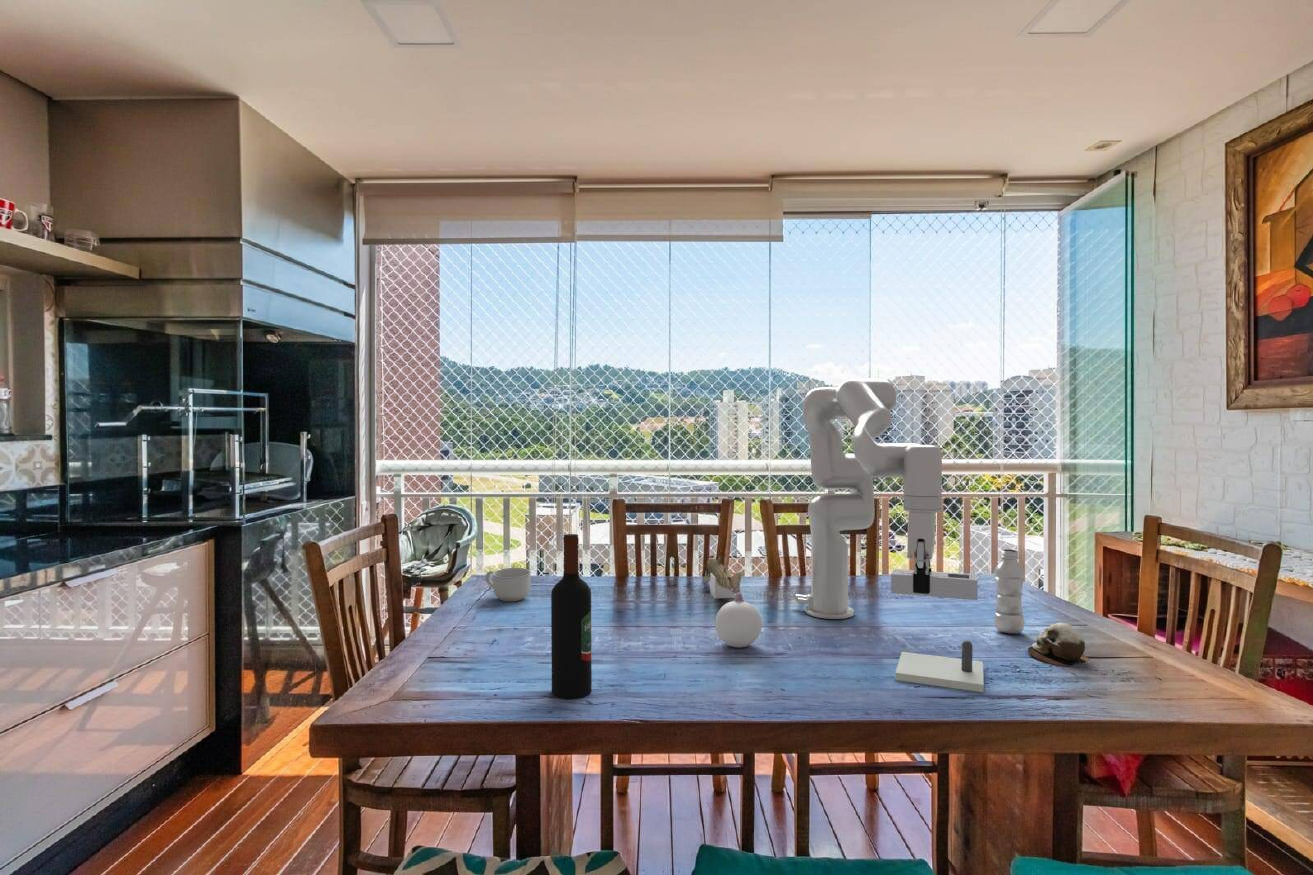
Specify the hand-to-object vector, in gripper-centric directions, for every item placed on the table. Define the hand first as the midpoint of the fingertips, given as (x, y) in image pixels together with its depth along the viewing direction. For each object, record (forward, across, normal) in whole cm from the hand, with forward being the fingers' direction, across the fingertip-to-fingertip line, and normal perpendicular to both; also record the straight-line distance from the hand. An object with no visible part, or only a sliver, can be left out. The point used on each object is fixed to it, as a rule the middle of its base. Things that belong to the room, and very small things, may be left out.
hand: (922, 588), depth 152 cm
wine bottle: (+16, +41, -61) cm, 75 cm away
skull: (+17, -18, +27) cm, 36 cm away
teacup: (+15, -13, -113) cm, 115 cm away
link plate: (+1, 0, +2) cm, 2 cm away
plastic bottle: (+16, -33, +18) cm, 41 cm away
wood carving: (+15, -39, -56) cm, 70 cm away
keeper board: (+16, +4, +4) cm, 17 cm away
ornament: (+16, +2, -39) cm, 43 cm away
